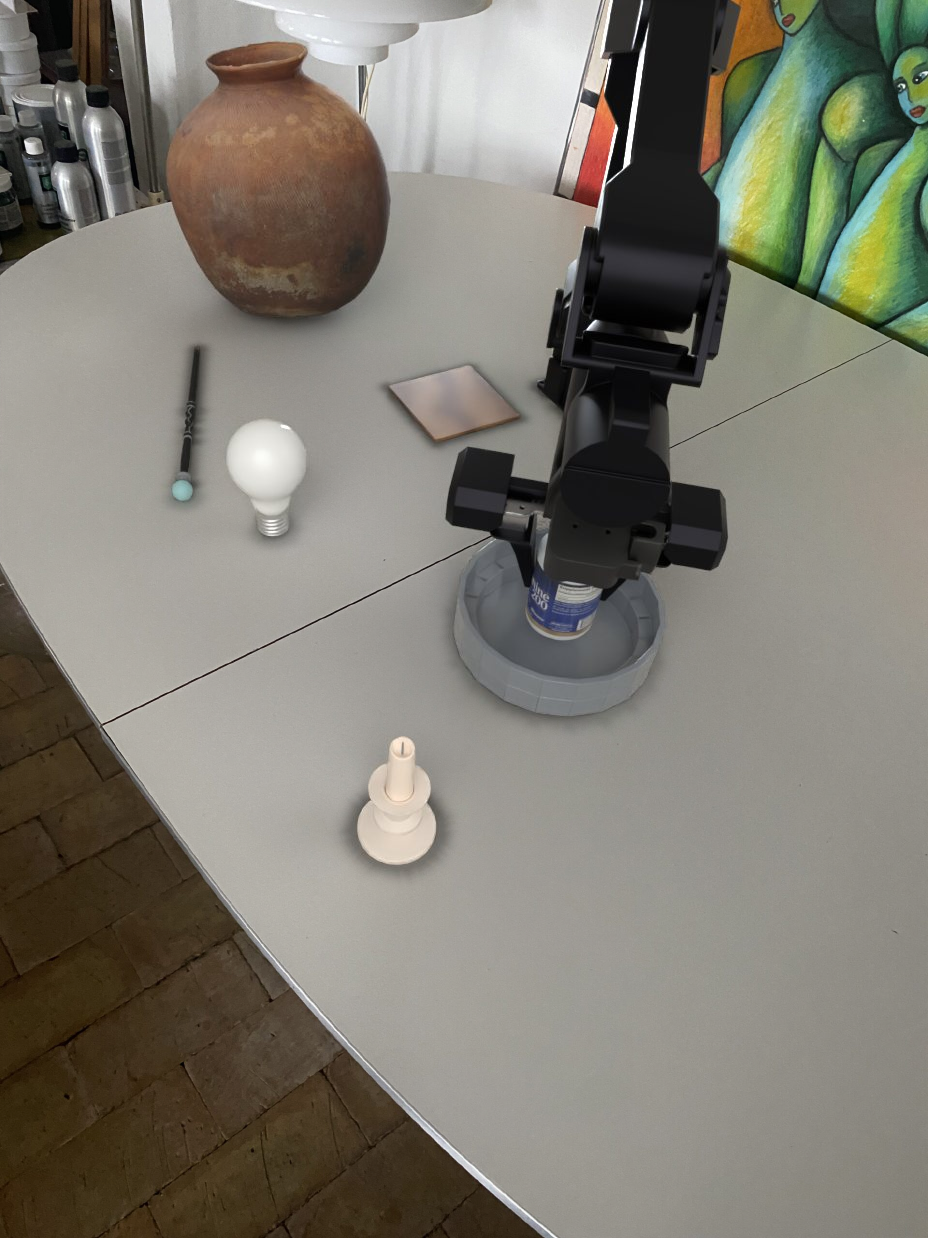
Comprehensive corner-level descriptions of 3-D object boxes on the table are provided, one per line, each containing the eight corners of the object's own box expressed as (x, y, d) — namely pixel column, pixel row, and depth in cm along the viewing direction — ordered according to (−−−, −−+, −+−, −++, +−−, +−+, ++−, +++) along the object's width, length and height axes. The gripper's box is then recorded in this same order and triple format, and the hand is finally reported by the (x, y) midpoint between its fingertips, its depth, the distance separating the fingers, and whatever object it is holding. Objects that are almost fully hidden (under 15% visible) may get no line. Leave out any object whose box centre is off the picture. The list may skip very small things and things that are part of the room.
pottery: (396, 351, 96) (405, 99, 77) (178, 350, 92) (132, 86, 74) (380, 252, 111) (385, 21, 92) (192, 248, 107) (157, 6, 88)
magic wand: (200, 357, 93) (208, 345, 93) (186, 508, 77) (195, 494, 76) (185, 348, 92) (193, 336, 92) (167, 499, 76) (176, 486, 75)
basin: (574, 545, 78) (584, 507, 74) (691, 672, 69) (708, 635, 66) (417, 604, 71) (420, 565, 68) (525, 752, 63) (534, 716, 59)
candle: (438, 864, 56) (450, 780, 49) (357, 867, 56) (356, 782, 48) (433, 793, 60) (445, 704, 52) (357, 795, 59) (357, 705, 51)
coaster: (469, 367, 95) (469, 364, 95) (519, 418, 90) (520, 415, 89) (388, 388, 91) (388, 385, 91) (435, 442, 86) (435, 439, 85)
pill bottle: (519, 591, 70) (538, 499, 62) (585, 591, 70) (611, 500, 63) (529, 643, 66) (549, 552, 59) (597, 643, 67) (626, 552, 60)
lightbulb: (323, 519, 77) (319, 415, 69) (290, 565, 73) (282, 461, 65) (258, 499, 78) (246, 394, 70) (222, 543, 74) (205, 437, 66)
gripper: (439, 474, 49) (423, 648, 61) (767, 531, 49) (688, 696, 60) (469, 367, 57) (450, 541, 68) (754, 416, 56) (686, 583, 68)
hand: (564, 590), depth 66 cm, fingers closed on pill bottle, 5 cm apart
